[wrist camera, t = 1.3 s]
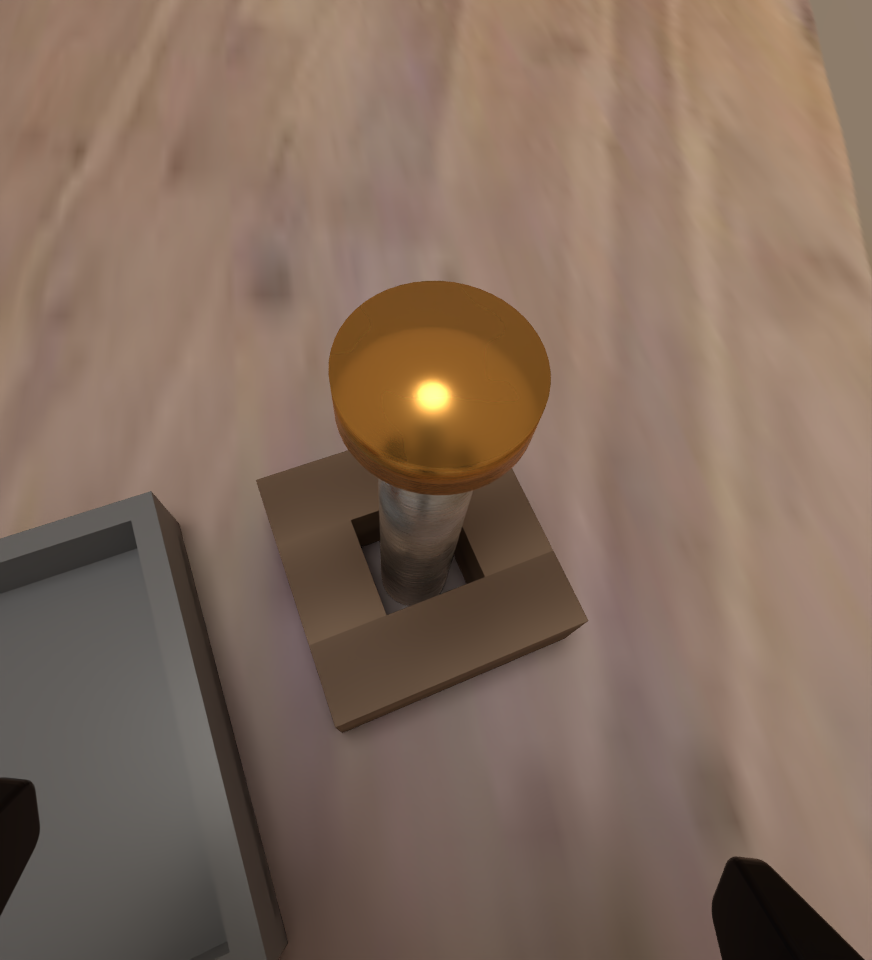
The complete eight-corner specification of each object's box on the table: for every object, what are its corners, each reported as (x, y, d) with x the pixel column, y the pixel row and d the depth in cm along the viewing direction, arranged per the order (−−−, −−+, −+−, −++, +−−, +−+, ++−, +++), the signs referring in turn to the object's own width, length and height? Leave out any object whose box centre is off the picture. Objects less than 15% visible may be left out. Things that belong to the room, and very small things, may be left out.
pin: (484, 604, 23) (589, 424, 11) (381, 645, 22) (373, 498, 10) (442, 509, 24) (494, 259, 12) (344, 544, 23) (299, 312, 11)
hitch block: (564, 638, 23) (588, 620, 20) (342, 732, 21) (335, 727, 18) (471, 445, 26) (481, 407, 23) (270, 513, 24) (255, 480, 21)
